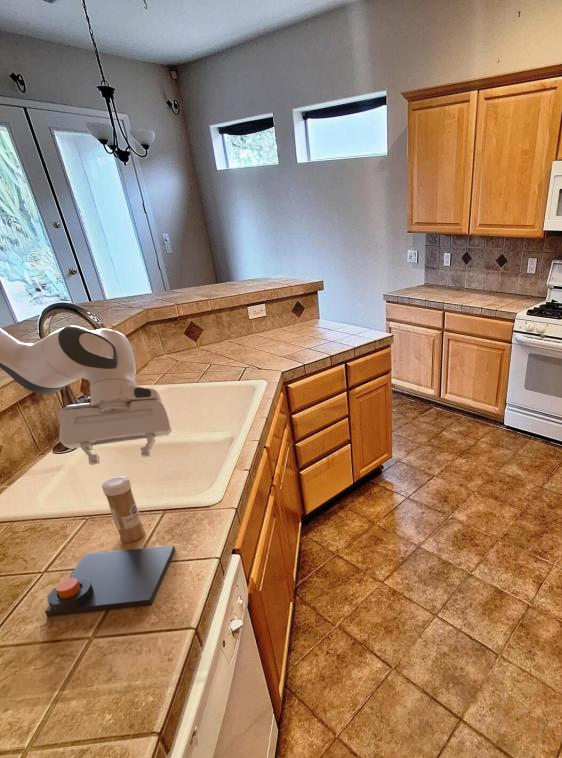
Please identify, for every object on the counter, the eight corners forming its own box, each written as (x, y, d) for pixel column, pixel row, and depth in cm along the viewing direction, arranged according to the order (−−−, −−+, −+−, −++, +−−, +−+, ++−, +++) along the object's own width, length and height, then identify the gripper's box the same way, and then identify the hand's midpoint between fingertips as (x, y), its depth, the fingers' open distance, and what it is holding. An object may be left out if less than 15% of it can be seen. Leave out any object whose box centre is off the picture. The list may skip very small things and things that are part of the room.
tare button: (55, 600, 71) (51, 592, 70) (64, 586, 73) (61, 578, 72) (75, 598, 71) (72, 590, 70) (84, 584, 74) (81, 576, 73)
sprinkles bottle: (141, 541, 88) (124, 486, 82) (117, 544, 87) (97, 489, 81) (148, 527, 92) (131, 474, 86) (124, 530, 91) (106, 476, 85)
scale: (45, 619, 70) (39, 606, 69) (87, 559, 83) (82, 546, 82) (150, 607, 73) (146, 594, 71) (175, 550, 85) (172, 538, 84)
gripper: (51, 400, 87) (54, 464, 83) (163, 388, 94) (171, 447, 91) (64, 412, 93) (67, 473, 89) (169, 400, 100) (176, 456, 96)
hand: (120, 460), depth 90 cm, fingers open, 8 cm apart
